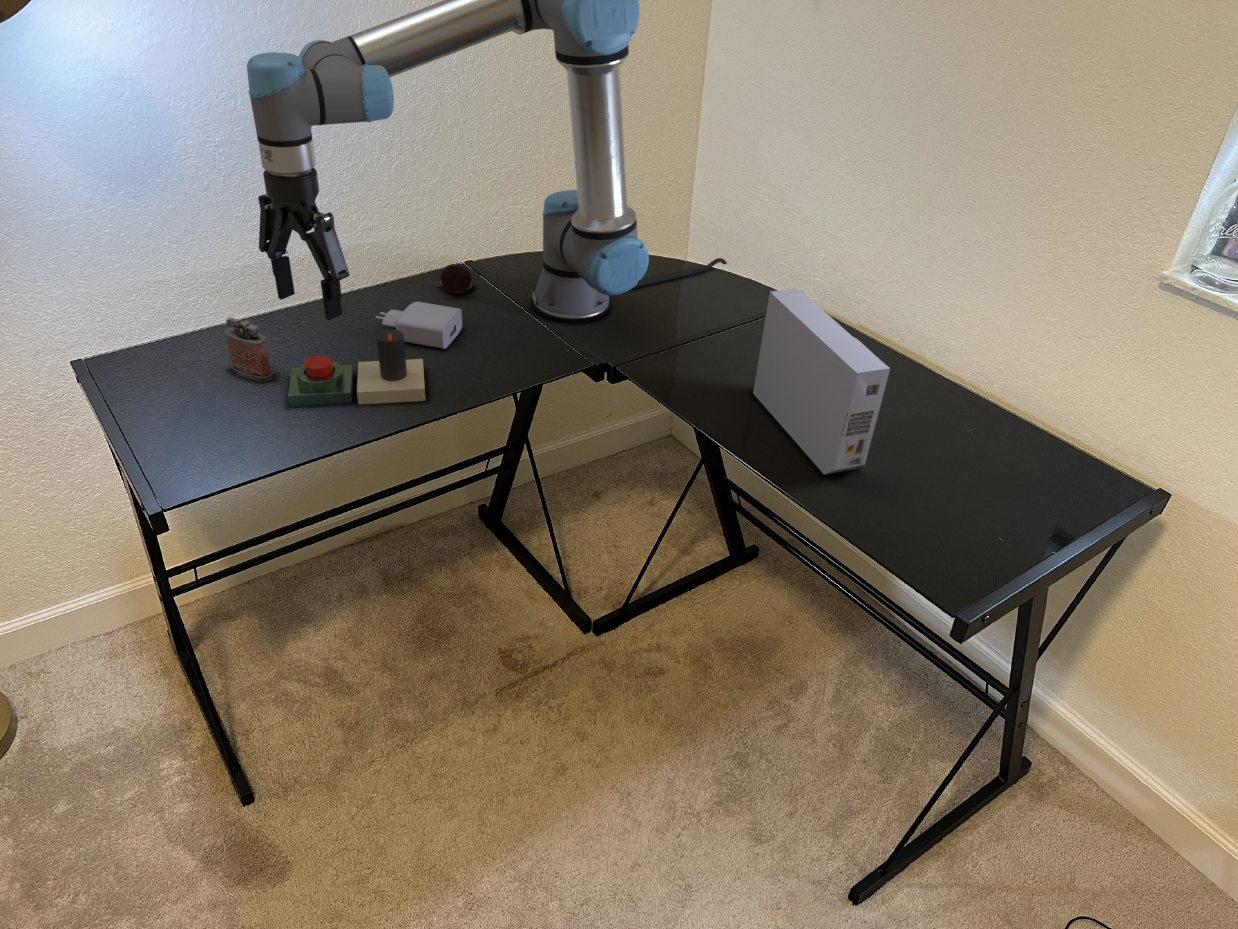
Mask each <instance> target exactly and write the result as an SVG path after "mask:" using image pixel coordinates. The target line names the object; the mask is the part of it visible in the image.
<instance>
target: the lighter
mask: <svg viewBox="0 0 1238 929" xmlns="http://www.w3.org/2000/svg"><path fill="white" fill-rule="evenodd" d="M225 322H226V326H227V327H229V328H226V329H225V330H224V331H223V333H224V337H225V338H226V341H227V346H228V351H229V355H230V356H229V357H230V360H231V370H232V372H233V373H235V374H237V375H239V376H241V377H243V378H246V379H248V380H249V379H251V380H252V381H253V380H254V381H257V382H258V381H259V382H268V381H270V380H272V379H273V378H274V372H273V370H272V368H271V363H270V357H269V352H268V346H267V343H268V340H267V337H266V336H265V335H263V334H262V333H259V328H258V325H255V324H252V323H251V321H249V320H247V319H245V320H244V321H242V320H240V319H237V318H235V317H231V316H230V317H227V318H226V319H225Z"/></svg>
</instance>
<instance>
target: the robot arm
mask: <svg viewBox="0 0 1238 929" xmlns="http://www.w3.org/2000/svg"><path fill="white" fill-rule="evenodd" d="M639 21H640V3H639V0H441V1H438V2H436V3H433V4H430V5H428V6H425V7H423V8H420V9H417V10H415V11H412V12H409V13H406V14H404V15H402V16H398V17H396V18H394V19H391V20H388V21H385V22H383V23H380V24H377V25H375V26H372V27H369V28H367V29H364V30H361V31H359V32H356V33H354V34H351V35H348V36H345V37H342V38H339V39H337V40H333V41H328V40H323V39H315V40H312V41H310V42H308V43H307V44H305V45H304V46H303V47H302V49H301V50H300V51H299V52H300V53H299V55H296V54H294V53H289V52H278V51H277V52H276V51H274V52H272V51H271V52H263V53H258V54H255V55H253V56H251V57H250V58H249V59H248V61H247V63H246V72H247V73H246V74H247V80H248V81H247V82H248V94H249V99H250V105H251V110H252V115H253V121H254V126H255V127H254V128H255V132H256V137H257V142H258V149H259V155H260V162H261V167H262V168H263V170H264V171H263V173H262V176H263V181H264V187H265V193H264V194H260V195H258V197H257V201H258V206H259V209H260V213H259V232H258V234H259V235H258V236H259V237H258V249H259V251H260V252H261V253H265V254H267V257H268V259H269V260H270V264H271V270H272V274H273V277H274V281H275V286H276V292H277V299H279V300H285V299H287V298H289V297H292V296H295V295H296V293H295V286H294V279H293V273H292V267H291V266H292V265H291V261H290V256H288V255H286V254H289V251H288V250H287V247H288V244H289V242H290V239H291V235H292V233H293V231H294V232H295V233H297V234H298V235H299V238H300V240H301V241H303V242H305V243H306V245H307V247H308V249H309V252H310V254H311V256H312V257H313V260H314V262H315V263H316V266H317V267H318V269H319V272H320V274H321V275H322V278H323V279H321V280H320V286H321V288H320V289H321V295H322V302H323V310H324V316H325V320H327V321H331V320H333V319H336V318H338V317H340V316H342V315H343V309H342V301H341V299H342V297H343V296H342V288H341V280H344V279H346V278H349V277H350V272H349V268H348V266H347V262H346V258H345V256H344V253H343V250H342V246H341V243H340V240H339V237H338V234H337V231H336V227H335V217H334V215H333V213H332V212H327V213H323V212H321V211H319V208H318V205H317V203H316V199H317V197H318V195H319V194H320V184H319V179H318V178H319V177H318V171H317V169H316V168H315V167H316V166H317V160H316V153H315V147H314V140H313V134H312V127H313V126H325V125H326V126H327V125H338V124H352V123H353V124H354V123H371V122H375V121H382V120H387V119H389V118H391V116H392V114H393V112H394V106H395V96H394V89H393V84H392V81H391V78H393V77H396V76H398V75H400V74H403V73H406V72H408V71H411V70H413V69H416V68H420V67H421V66H425V65H427V64H429V63H432V62H434V61H437V60H439V59H443V58H445V57H447V56H450V55H452V54H456V53H458V52H460V51H463V50H465V49H469V48H470V47H474V46H477V45H478V44H482V43H483V42H487V41H489V40H492V39H494V38H496V37H500V36H502V35H504V34H507V33H510V32H513V33H515V34H517V35H518V36H520V35H521V36H522V35H524V34H526V33H529V32H531V31H536V30H551V31H552V32H553V42H554V54H555V60H556V62H557V63H558V64H560V66H562V68H564V69H565V71H566V80H567V91H568V102H569V104H568V105H569V114H570V115H569V116H570V123H571V136H572V137H571V138H572V148H573V159H574V160H573V161H574V170H575V181H576V189H567V190H560V191H556V192H553V193H551V194H549V195H547V196H546V198H545V199H544V201H543V209H542V270H541V273H540V275H539V277H538V282H537V284H536V287H535V289H534V290H532V295H531V298H532V300H533V308H534V309H535V311H536V312H537V313H538V314H540V315H542V316H543V317H545V318H547V319H550V320H553V321H557V322H562V323H563V322H564V323H585V322H590V321H594V320H596V319H599V318H601V317H603V316H604V315H606V313H608V311H609V309H610V296H618V295H623V294H625V293H627V292H629V291H631V290H632V289H634V288H639V287H645V286H649V285H653V284H658V283H662V282H665V281H671V280H675V279H679V278H682V277H687V276H691V275H696V274H699V273H703V272H705V271H708V270H709V269H711V268H712V267H714V266H715V265H717V264H718V263H719V264H722V265H728V262H727V261H726V259H724V258H722V257H718V258H715V259H713V260H712V261H710V262H709V263H708V264H706V265H704V266H702V267H698V268H694V269H691V270H686V271H682V272H677V273H673V274H669V275H665V276H661V277H657V278H652V279H648V280H642V279H643V278H644V276H645V274H646V272H647V271H648V267H649V262H650V256H649V251H648V249H647V247H646V245H645V243H644V242H643V240H641V239H639V238H638V220H637V213H636V211H635V210H634V209H633V207H631V206H630V205H628V196H627V194H628V193H627V177H626V176H627V175H626V158H625V138H624V137H625V136H624V121H623V120H624V119H623V101H622V82H621V81H622V80H621V66H622V65H623V63H624V62H625V61H626V60H627V59H628V57H629V55H630V52H629V51H630V49H629V45H630V43H631V41H632V37H633V35H634V34H636V32H637V30H638V26H639ZM312 230H313V231H312ZM640 280H642V281H640Z"/></svg>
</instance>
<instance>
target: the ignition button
mask: <svg viewBox="0 0 1238 929" xmlns="http://www.w3.org/2000/svg"><path fill="white" fill-rule="evenodd" d="M332 361H333V359H332V358H331V357H329V356H327V355H314V356H313V355H312V356H311V357H308V358H307V359H305V361H304V364H305V370H306V375H307V376H308V377H310V378H314V379H315V378H325V377H328V376H331V375H332V374H333V364H332Z"/></svg>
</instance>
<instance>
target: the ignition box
mask: <svg viewBox="0 0 1238 929" xmlns="http://www.w3.org/2000/svg"><path fill="white" fill-rule="evenodd" d="M332 364H333V374H332V375H331V376H328V377H325V378H315V379H314V378H310V377H308V376H307V375H306V370H305V363H303V364H301V365H300V366H299V367H292V368H291V372H290V380H289V385H288V391H287V399H288V406H289V407H290V408H291V407H308V406H327V405H328V406H329V405H343V404H344V405H345V404H353V395H354V380H355V377H354V376H355V375H354V366H353V364H347V365H346V364H345V365H344V364H343V365H341V364H340V363H339V362H337V361H334V360H332Z"/></svg>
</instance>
